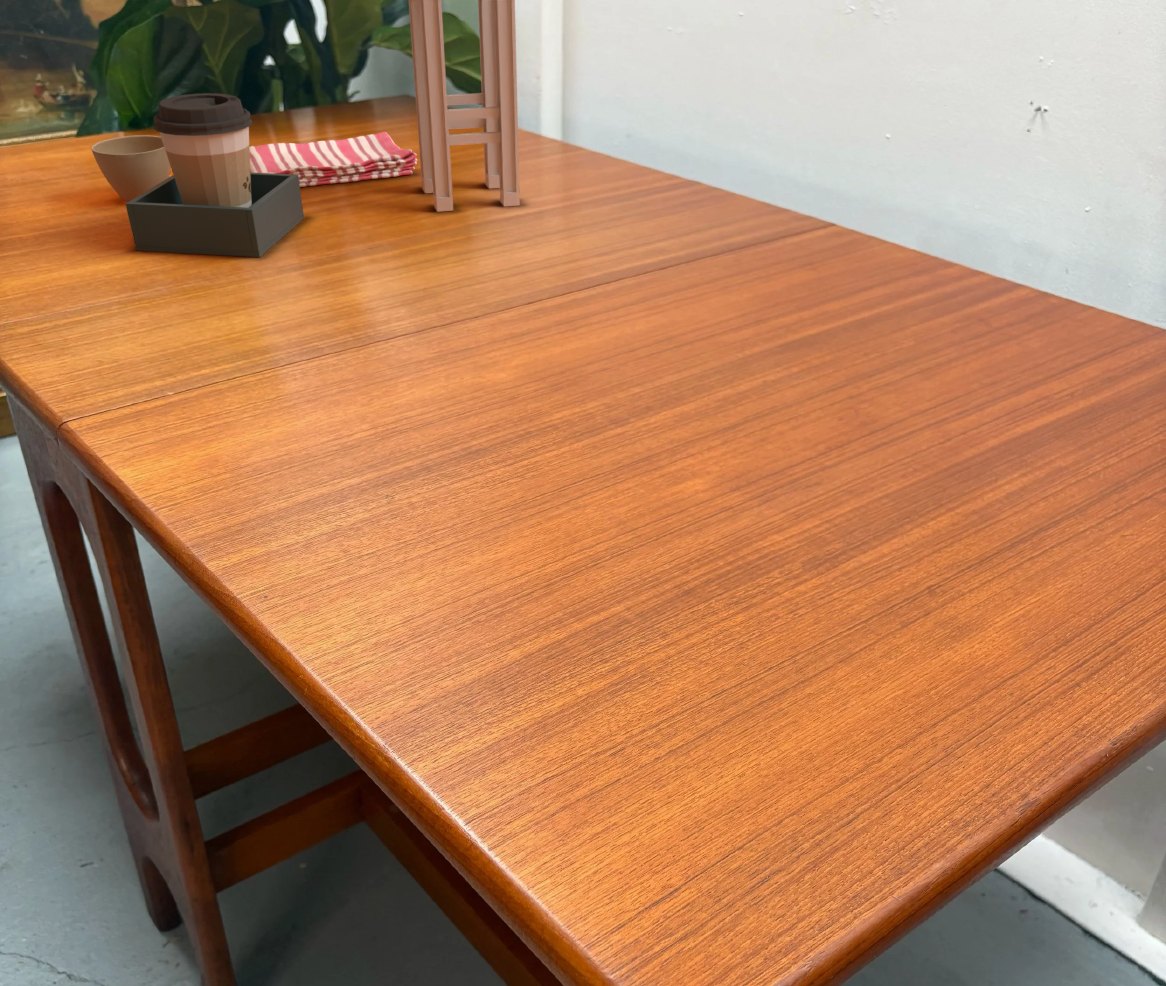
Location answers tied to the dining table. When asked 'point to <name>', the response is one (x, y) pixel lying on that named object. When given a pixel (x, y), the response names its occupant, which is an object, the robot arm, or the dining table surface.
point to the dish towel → (334, 160)
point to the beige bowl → (132, 163)
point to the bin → (216, 219)
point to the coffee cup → (207, 148)
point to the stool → (467, 101)
